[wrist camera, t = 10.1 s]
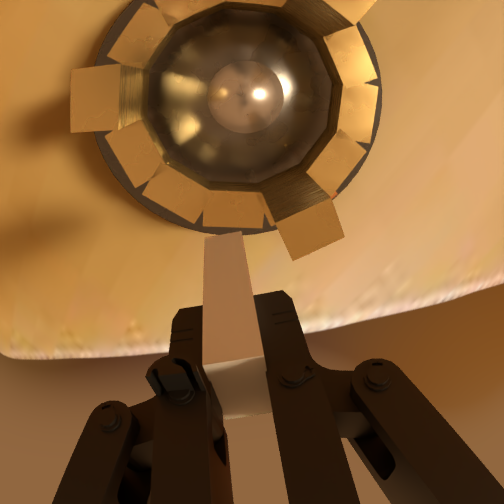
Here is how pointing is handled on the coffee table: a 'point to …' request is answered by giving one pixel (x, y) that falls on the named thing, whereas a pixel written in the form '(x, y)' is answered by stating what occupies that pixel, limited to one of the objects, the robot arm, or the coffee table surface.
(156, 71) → the cap plate
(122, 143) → the round dome base
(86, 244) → the coffee table surface
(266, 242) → the coffee table surface
